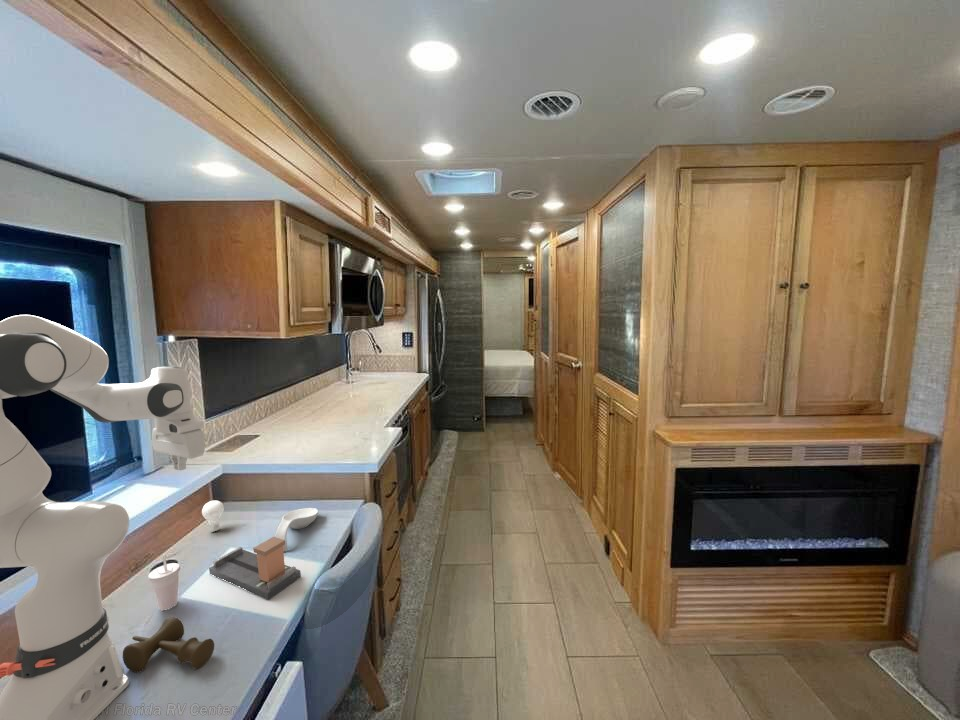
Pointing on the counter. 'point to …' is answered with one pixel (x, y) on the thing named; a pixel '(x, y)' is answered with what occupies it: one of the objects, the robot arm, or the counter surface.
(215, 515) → the lightbulb
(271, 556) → the fader knob
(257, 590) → the fader track
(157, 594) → the smoothie
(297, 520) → the spoon rest
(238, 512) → the counter surface
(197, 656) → the kendama
